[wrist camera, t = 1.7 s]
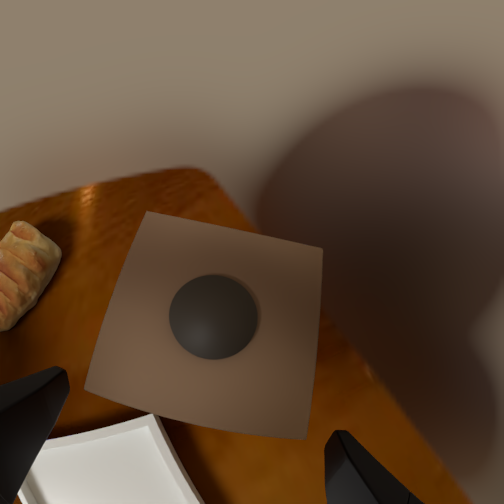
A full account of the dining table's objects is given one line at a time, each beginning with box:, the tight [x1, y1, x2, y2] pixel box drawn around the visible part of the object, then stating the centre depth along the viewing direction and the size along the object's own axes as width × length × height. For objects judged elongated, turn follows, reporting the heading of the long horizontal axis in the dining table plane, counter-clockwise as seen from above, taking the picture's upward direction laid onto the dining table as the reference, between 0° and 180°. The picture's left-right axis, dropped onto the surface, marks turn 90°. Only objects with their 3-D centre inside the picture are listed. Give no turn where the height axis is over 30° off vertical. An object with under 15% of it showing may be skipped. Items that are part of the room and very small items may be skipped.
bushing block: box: [84, 211, 323, 440], centre depth 13 cm, size 6×6×12 cm
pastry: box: [0, 221, 62, 331], centre depth 17 cm, size 9×7×4 cm
